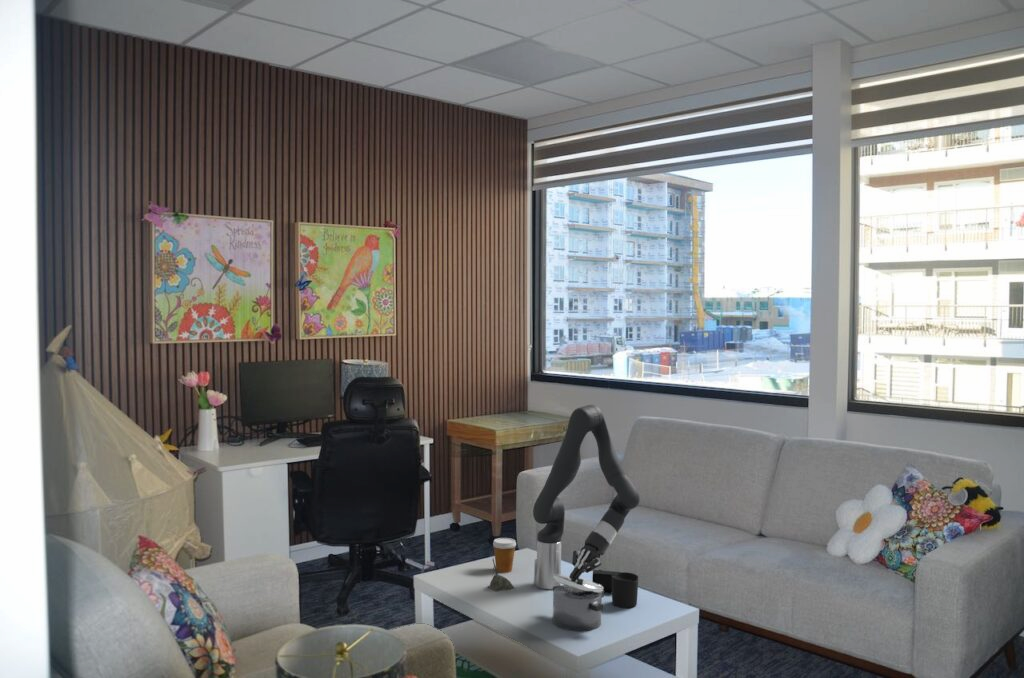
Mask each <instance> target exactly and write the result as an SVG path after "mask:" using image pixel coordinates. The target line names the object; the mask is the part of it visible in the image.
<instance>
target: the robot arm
mask: <svg viewBox="0 0 1024 678" xmlns="http://www.w3.org/2000/svg"><path fill="white" fill-rule="evenodd" d="M606 422H607V421H606V419H605V416H604V414H603V412H602V410H601V408H600V407H599V406H597V405H595V404H588V405H584V406H580V407H577V408H575V409H574V410H573V411H572V413H571V414H570V417H569V420H568V424H567V427H566V430H565V431H566V432H565V433H564V434H565V435H564V438H563V440H562V442H561V445H560V447H559V450H558V452H557V454H556V457H555V459H554V462H553V465H552V467H551V470H550V472H549V474H548V477H547V478H546V481H545V483H544V486H543V487H542V489H541V491H540V493H539V495H538V497H537V498H536V500H535V502H534V504H533V509H532V516H533V520H535V522H536V523H538V524H542V525H543V524H544V525H545V526H544V527H543V528H542V529H541V530H540V531H538V532H537V538H536V559H534V567H533V568H534V569H533V570H534V575H533V585H535V586H536V587H537V588H538V589H539V588H540V589H542V590H543V589H544V590H553V587H554V586H559V585H560V586H562V584H561V583H558V582H556V581H554V580H553V576H554V575H555V574H561V575H562V537H563V535H564V527H565V516H566V515H565V512H566V509H565V505H564V502H563V500H562V499H561V498H559V496H560V494H561V493H562V492H563V491H565V489H567V488H568V487H569V485H571V484H572V482H573V481H574V479H575V478H576V476H577V473H578V472H579V470H580V466H581V463H582V456H581V447H582V446H581V445H582V444H583V441H584V439H585V437H586V436H587V434H588V433H589V432H591V433H592V436H594V439H595V441H596V444H597V451H598V452H597V453H598V455H597V456H598V462H599V467H600V469H601V471H602V474H603V476H604V478H605V481H606V482H607V484H608V485H609V487H613V488H614V489H613V490H615V492H616V495H615V497H614V498H613V500H612V501H611V503H610V505H609V506H608V509H607V511H606V512H605V513H604V514H603V516H602V517H601V519H600V520H599V521H598V523H596V524H595V526H594V528H593V529H592V530H591V531H590V533H589V535H588V536H587V537H586V539H585V540H584V546H583V547H581V548H580V549H579V550H578V551H576V550H573V551H572V559H571V560H572V561H571V562H572V563H571V564H572V565H573V569H572V571H571V572H570V574H569V575H568V576H569V577H570V579H571V580H573V581H576V580H577V578H580V577H581V575H582V574H583V573H586V574H589V573H590V572H593V571H594V570H596V569H597V568H599V567H600V566H602V563H601V561H600V557H601V556H604V554H605V553H606V551H607V550H608V549H609V547H610V546H611V545H612V543H613V541H614V540H615V538H616V536H617V534H618V533H619V531H620V529H621V528H622V527H623V525H624V523H625V519H626V517H627V516H628V515H629V513H630V511H631V510H634V509H635V508H637V507H638V506H639V504H640V500H641V499H640V494H639V492H638V490H637V488H636V487H635V485H634V484H633V482H632V481H631V479H630V478H629V477H628V476H627V475H626V472H625V470H624V468H623V465H622V464H621V462H620V459H619V458H618V455H617V453H616V450H615V448H614V445H613V442H612V438H611V435H610V432H609V429H608V425H607V423H606Z"/></svg>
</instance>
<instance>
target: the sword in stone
mask: <svg viewBox="0 0 1024 678" xmlns="http://www.w3.org/2000/svg"><path fill="white" fill-rule="evenodd" d="M492 562H493V567H492V568H493V572H494V573H495V574H494V575H493V577H492V579H491V581H490V584H489V585H487V586H486V588H487V589H488V590H490V591H492V592H499V591H509V590H510V591H511V590H513V589H515V587H514V585H513V584H512V582H511V581H510V580H508V579H507V578H506V577H505V576H503V575H500V574H498V569H497V570H496V567H497V566H496V562H495V558H492Z"/></svg>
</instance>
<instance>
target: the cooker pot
mask: <svg viewBox="0 0 1024 678" xmlns="http://www.w3.org/2000/svg"><path fill="white" fill-rule="evenodd" d="M552 593H553V594H552V597H553V598H552V624H553V625H555V626H556V627H558V628H559V629H560V628H561V629H562V630H566V631H571V632H572V631H573V632H587V631H593V630H596V629H598V628H600V626H601V625H602V611H604V610H605V609H604V608H605V607H604V606H605V605H604V604H602V598H604V597H605V592H604V590H603V592H602V593H596V592H589V591H584V590H580V589H576V588H572V587H569V586H566V585H563V584H561V586H560V585H559V586H554V587H553V589H552Z"/></svg>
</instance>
